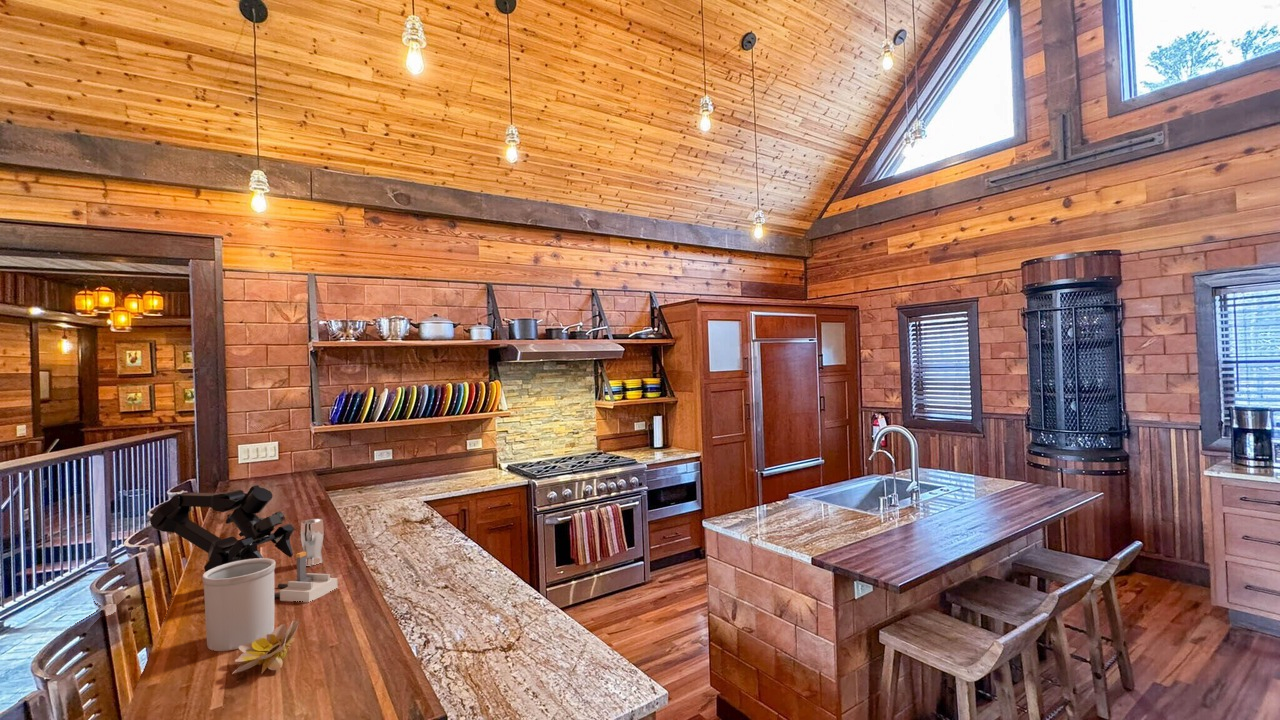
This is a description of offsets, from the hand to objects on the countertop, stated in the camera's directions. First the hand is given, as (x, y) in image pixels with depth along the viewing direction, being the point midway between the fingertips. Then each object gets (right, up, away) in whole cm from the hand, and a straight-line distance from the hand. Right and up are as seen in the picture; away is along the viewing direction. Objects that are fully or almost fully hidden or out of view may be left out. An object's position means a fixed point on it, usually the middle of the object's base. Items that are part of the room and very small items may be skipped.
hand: (279, 561), depth 168 cm
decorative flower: (+26, -8, -43) cm, 51 cm away
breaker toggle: (+8, -6, -2) cm, 10 cm away
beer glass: (-5, -11, +26) cm, 28 cm away
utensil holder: (+10, -8, -30) cm, 33 cm away
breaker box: (+6, -9, -2) cm, 11 cm away
